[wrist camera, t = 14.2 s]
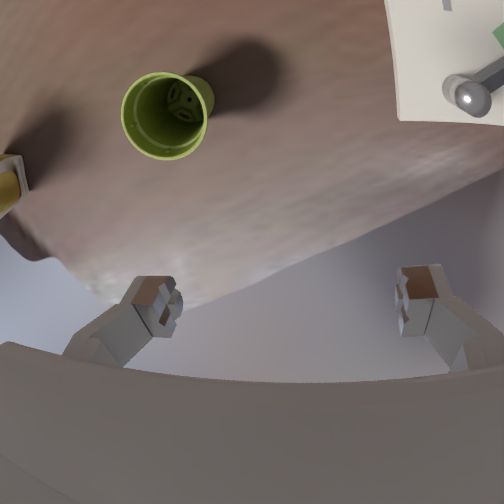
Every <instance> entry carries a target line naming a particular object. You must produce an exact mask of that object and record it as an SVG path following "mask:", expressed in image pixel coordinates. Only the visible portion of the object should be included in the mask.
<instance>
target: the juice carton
mask: <svg viewBox="0 0 504 504" xmlns="http://www.w3.org/2000/svg"><path fill="white" fill-rule="evenodd" d="M28 192H29V189H28V184H27V180H26V175H25V170H24V163H23V158H22V156H21V155H12V154H1V155H0V219H1V218H2V217H3V216H4V215H5V214H6V213H8V212H9V211H10V210H11V209H12V208H13V207H14V206H15V205H16V204H18V203H19V202H20V201H21V200H22V199H23V198H24V196H25V195H26V194H27V193H28Z"/></svg>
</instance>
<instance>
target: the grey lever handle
mask: <svg viewBox="0 0 504 504" xmlns="http://www.w3.org/2000/svg"><path fill="white" fill-rule="evenodd" d="M503 85H504V56H503V57H501V58H499V59H498V60H496V61H495V62H493V63H491V64H490V65H488V66H487V67H485V68H483V69H482V70H480V71H479V72H477V73H475V74H474V75H472V76H471V77H469V78H468V79H466V78H464V77H461V76H458V75H450V76H448V77H446V78H445V80H444V81H443V84H442V93H443V96H444V98H445V99H446V100H447V101H448V102H449V103H451V104H453V105H454V106H456V107H458V108H459V109H461V110H463V111H464V112H466V113H468V114H469V115H471V116H473V117H476V118H481V117H484V116H485V115H487V114H488V112H489V111H490V109H491V105H492V99H491V95H490V94H491V93H492V92H494V91H495V90H497V89H498V88H500V87H501V86H503Z"/></svg>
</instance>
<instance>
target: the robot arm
mask: <svg viewBox="0 0 504 504" xmlns="http://www.w3.org/2000/svg"><path fill="white" fill-rule="evenodd" d="M397 278H398V282H399V283H398V284H397V285H396V289H395V307H396V312H397V313H398V314H399V315H400V316H399V321H398V323H399V329H400V334H401V337H413V336H414V337H415V336H424V338H425V339H426V340H427V341H428V343H429V344H430V345H431V346H432V347H433V348H434V350H435V351H436V352H437V353H438V354H439V356H440V357H441V358H442V359H443V360H444V362H445V363H446V364H447V365H448V366H449V367H450V371H449V372H448V374H440V375H432V376H424V377H414V378H404V379H392V380H378V381H361V382H336V383H275V382H252V381H251V382H250V381H235V380H221V379H220V380H219V379H208V378H197V377H188V376H179V375H171V374H163V373H155V372H148V371H141V370H135V369H129V368H123V366H124V365H125V364H126V363H127V362H129V361H130V359H131V358H133V357H134V356H135V355H136V354H137V353H138V352H139V351H140V350H141V349H142V348H143V347H144V346H145V345H146V344H147V343H148V342H149V341H150V340H151V339H152V337H162V338H163V337H164V338H171V337H172V335H173V332H174V330H175V327H176V322H175V320H176V319H177V318H178V317H180V315H181V313H182V310H183V299H182V296H181V293H180V292H179V291H178V290H176V289H175V286H176V282H175V280H174V278H173V277H171V276H137V277H136V278H135V279H134V280H133V282H132V284H131V285H130V287H129V288H128V290H127V292H126V293H125V295H124V297H123V298H122V300H121V302H120V303H119V304H116V305H114V306H113V307H111V308H110V309H108V310H107V311H106V312H104V313H103V314H101V315H100V316H99V317H97V318H96V319H94V320H93V321H92V322H90V323H89V324H87V325H86V326H85V327H83V328H82V329H80V330H79V331H78V332H76V333H75V334H74V335H73V337H72V338H71V340H70V342H69V344H68V345H67V347H66V349H65V350H64V352H63V354H62V355H58V354H54V353H50V352H46V351H42V350H38V349H35V348H31V347H27V346H23V345H20V344H17V343H14V342H5V343H3V344H1V345H0V504H504V335H503V333H501V332H500V331H499V330H498V329H497V328H496V327H494V326H493V325H492V324H491V323H490V322H488V321H487V320H486V319H485V318H484V317H482V316H481V315H480V314H479V313H477V312H476V311H475V310H474V309H473V308H471V307H470V306H469V305H468V304H466V303H465V302H464V301H462V300H461V299H460V298H459V297H454V296H453V294H452V291H451V288H450V286H449V283H448V281H447V278H446V276H445V273H444V271H443V269H442V266H441V265H440V264H431V265H421V266H407V267H399V269H398V274H397Z"/></svg>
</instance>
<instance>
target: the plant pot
mask: <svg viewBox="0 0 504 504" xmlns="http://www.w3.org/2000/svg"><path fill="white" fill-rule="evenodd" d="M174 88H176V91H175V93H174V96H173V98H172V97H171V95H172V91H173V89H174ZM188 98H191V101H190V102H189V101H188ZM214 102H215V97H214V94H213V91H212V89H211V87H210V85H209V84H208V83H207V82H206V81H205V80H203V79H202V78H200V77H197V76H181V75H178V74H175V73H171V72H156V73H151V74H148V75H145V76H143V77H141V78H140V79H138V80H137V81H136V82H135V83H134V84H133V85H132V86H131V87H130V88H129V89H128V91H127V92H126V94H125V96H124V99H123V103H122V107H121V121H122V126H123V128H124V131H125V134H126V136H127V137H128V139H129V140H130V142H131V143H132V144H133V145H134V146H135V147H136V148H137V149H138V150H139V151H140V152H142V153H143V154H145V155H147V156H149V157H152V158H155V159H159V160H175V159H179V158H182V157H185V156H187V155H188V154H190V153H191V152H193V151H194V150H195V149H196V148H197V147H198V146H199V144H200V143H201V142H202V140H203V138H204V136H205V133H206V130H207V125H208V117H209V115H210V113H211V111H212V109H213V107H214ZM180 113H182V114H184V115H187V116H190V118H184V117H182V116H181V115H180Z"/></svg>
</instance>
